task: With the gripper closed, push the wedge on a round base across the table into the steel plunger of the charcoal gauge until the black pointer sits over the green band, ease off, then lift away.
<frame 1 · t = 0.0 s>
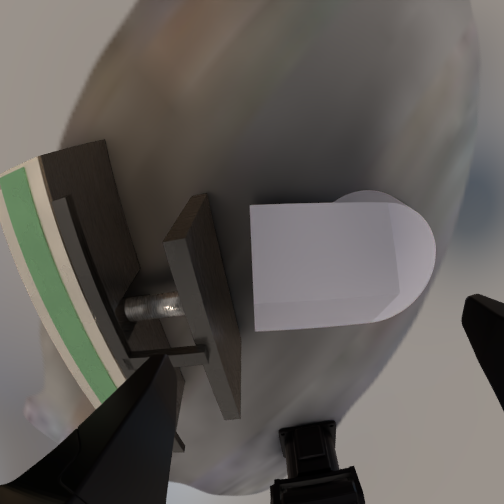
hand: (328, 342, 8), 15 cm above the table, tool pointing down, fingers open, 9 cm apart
gauge housing: (162, 278, 24), on the table
gauge plunger: (170, 315, 19), point 5 cm above the table, slide at 0.0 cm
wedge on round base: (338, 248, 24), on the table
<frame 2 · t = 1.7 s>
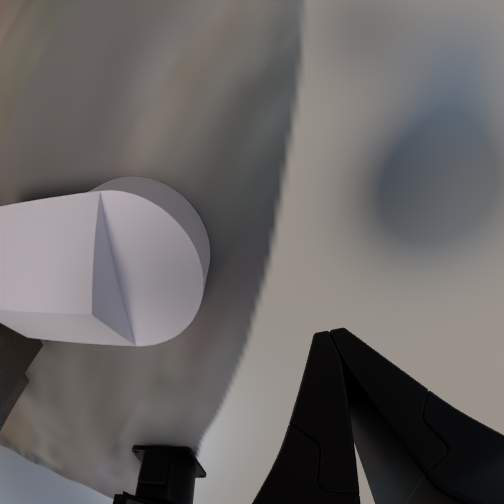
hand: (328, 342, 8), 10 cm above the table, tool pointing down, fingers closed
wedge on round base: (108, 251, 19), on the table
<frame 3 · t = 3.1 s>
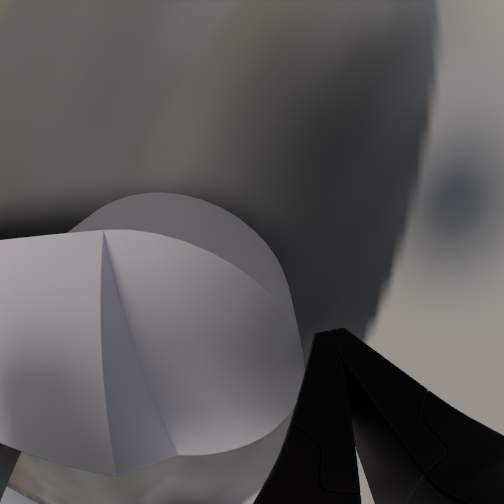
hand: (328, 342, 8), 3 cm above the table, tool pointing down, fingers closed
wedge on round base: (120, 310, 12), on the table, touching gripper
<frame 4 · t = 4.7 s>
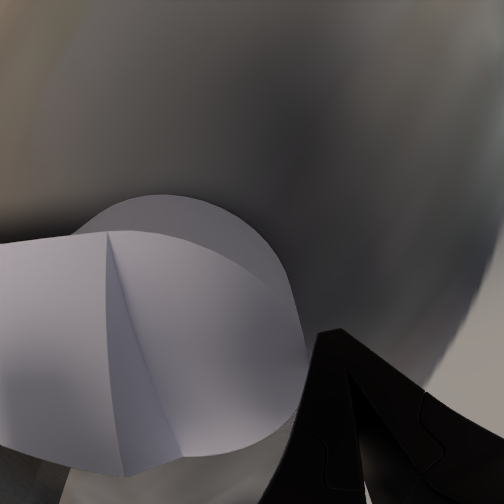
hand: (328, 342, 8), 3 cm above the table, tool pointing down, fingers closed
wedge on round base: (123, 313, 12), on the table, touching gauge plunger, gripper
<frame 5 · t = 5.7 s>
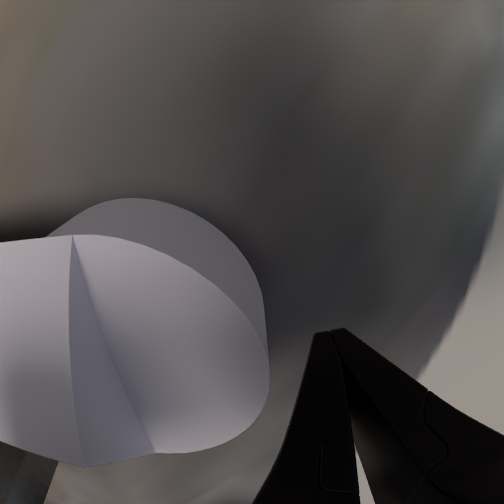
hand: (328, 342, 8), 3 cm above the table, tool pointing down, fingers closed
wedge on round base: (101, 311, 12), on the table
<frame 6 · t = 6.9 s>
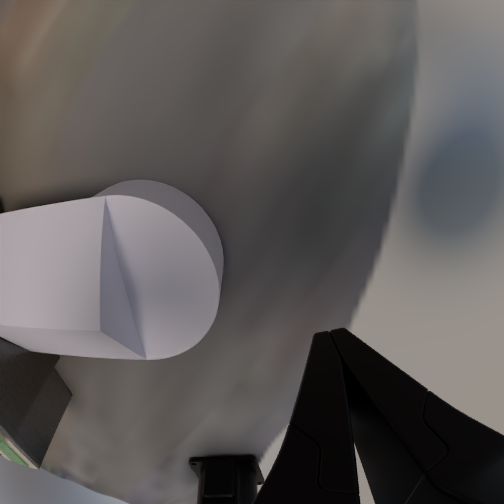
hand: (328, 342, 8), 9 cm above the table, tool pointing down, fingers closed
gauge housing: (21, 280, 18), on the table
wedge on round base: (114, 259, 18), on the table
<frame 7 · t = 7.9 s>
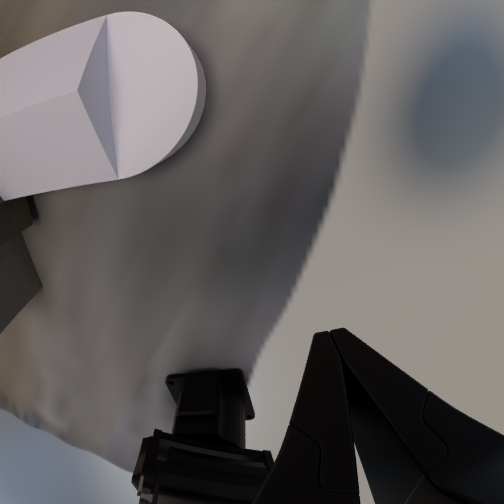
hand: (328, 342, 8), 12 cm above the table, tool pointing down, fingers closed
gauge housing: (11, 144, 17), on the table
wedge on round base: (102, 102, 16), on the table
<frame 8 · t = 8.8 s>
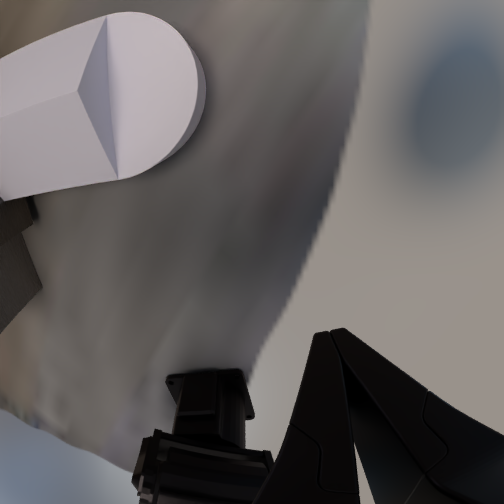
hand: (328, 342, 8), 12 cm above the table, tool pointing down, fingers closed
gauge housing: (11, 144, 17), on the table
wedge on round base: (102, 103, 16), on the table
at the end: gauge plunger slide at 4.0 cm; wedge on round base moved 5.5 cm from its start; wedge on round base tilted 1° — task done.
